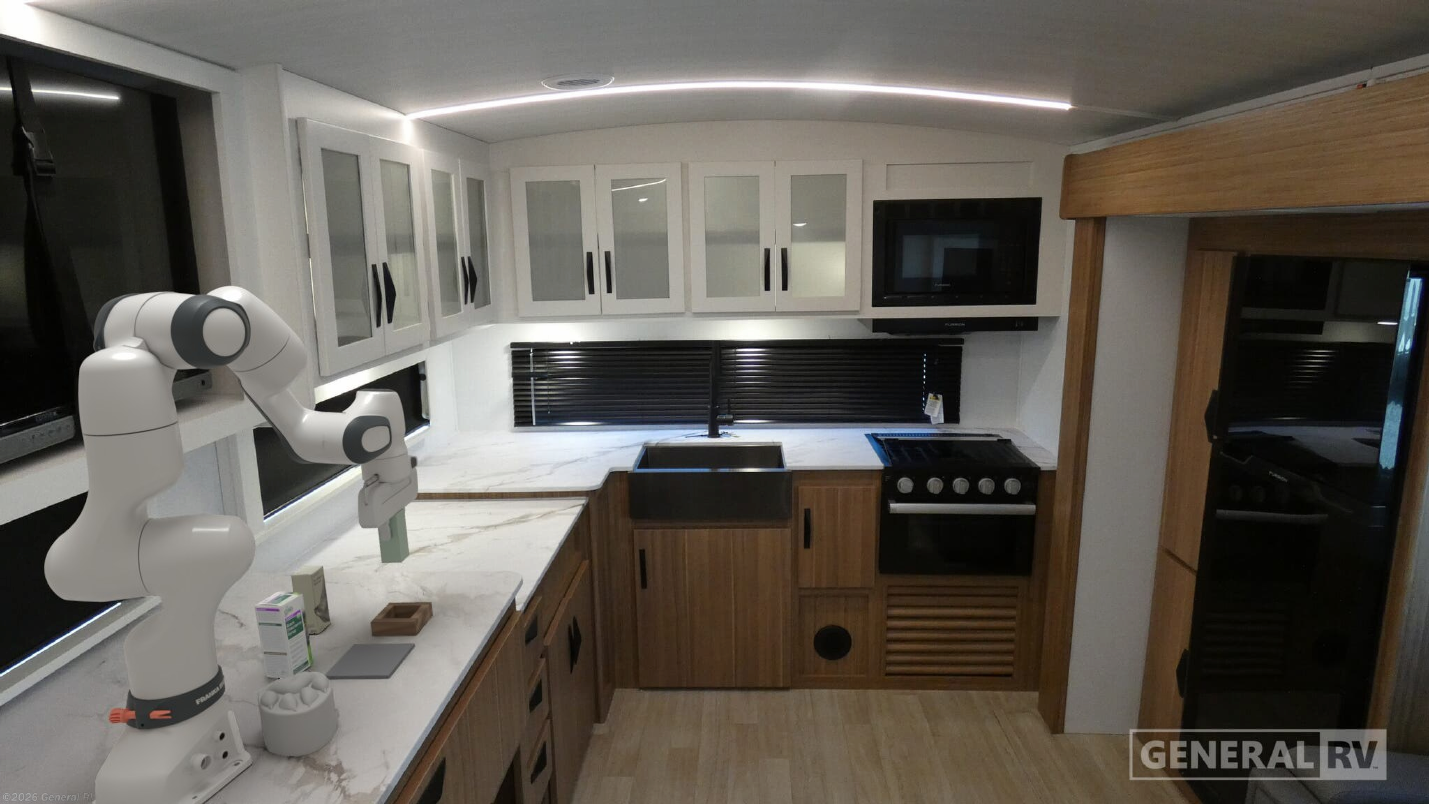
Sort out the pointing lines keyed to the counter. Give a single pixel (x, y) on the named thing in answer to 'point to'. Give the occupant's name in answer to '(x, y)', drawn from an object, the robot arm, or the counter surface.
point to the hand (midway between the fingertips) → (393, 534)
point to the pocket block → (401, 619)
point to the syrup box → (284, 634)
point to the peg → (395, 540)
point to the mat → (370, 661)
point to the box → (313, 596)
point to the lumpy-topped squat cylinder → (297, 714)
